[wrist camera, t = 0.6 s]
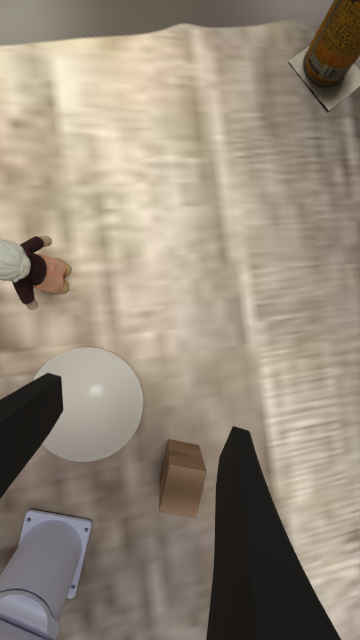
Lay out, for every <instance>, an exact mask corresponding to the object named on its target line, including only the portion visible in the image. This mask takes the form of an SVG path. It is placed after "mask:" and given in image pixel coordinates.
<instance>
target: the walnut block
mask: <svg viewBox="0 0 360 640" xmlns="http://www.w3.org/2000/svg"><path fill="white" fill-rule="evenodd" d="M206 472H207V471H206V468H205V465H204V461H203V458H202V455H201V451H200V448H199V445H195V444H190V443H185V442H180V441H175V440H170V439H168V444H167V448H166V453H165V457H164V461H163V466H162V470H161V474H160V495H159V511H160V512H165V513H171V514H176V515H182V516H187V517H193V518H196V516H197V512H198V508H199V503H200V499H201V494H202V490H203V485H204V481H205V476H206Z"/></svg>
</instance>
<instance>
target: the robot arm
mask: <svg viewBox="0 0 360 640" xmlns="http://www.w3.org/2000/svg"><path fill="white" fill-rule="evenodd" d="M62 412H63V395H62V379H61V376H58V375H55V374H51V373H46V374H44V375H42V376H41V377H39V378H37V379H35V380H34V381H32V382H30V383H29V384H27V385H25V386H23V387H22V388H20V389H18V390H17V391H15V392H13V393H11V394H10V395H8V396H6V397H4V398H3V399H1V400H0V499H1V497H2V496H3V494H4V493H5V492H6V490H7V489H8V487H9V486H10V485H11V483H12V482H13V481H14V480H15V478H16V477H17V476H18V474H19V473H20V472H21V470H22V469H23V468H24V467H25V465H26V464H27V463H28V461H29V460H30V459H31V457H32V456H33V455H34V454H35V452H36V451H37V450H38V448H39V447H40V446H41V444H42V443H43V442H44V440H45V439H46V438H47V436H48V435H49V434H50V432H51V430H52V429H53V427H54V426H55V424H56V422H57V421H58V419H59V417H60V415H61V414H62ZM28 518H31V520H30V519H28ZM91 526H92V521H91V520H88V519H82V518H77V517H71V516H65V515H60V514H54V513H48V512H43V511H37V510H29V511H28V512H27V513H26V516H25V520H24V524H23V528H22V532H21V536H20V541H19V545H18V548H17V550H16V551H15V553H14V554H13V556H12V558H11V559H10V561H9V562H8V564H7V565H6V567H5V568H4V570H3V572H2V573H1V575H0V640H56V638H57V635H58V632H59V630H60V627H61V624H60V623H58V620H59V617H60V615H61V612H62V609H63V606H64V603H65V600H66V598H69V599H72V598H74V597H75V594H76V591H77V586H78V582H79V578H80V574H81V569H82V565H83V561H84V556H85V552H86V548H87V544H88V539H89V535H90V531H91ZM85 528H88V529H85ZM73 585H75V586H73ZM206 640H341V639H340V637H339V635H338V633H337V631H336V630H335V628H334V626H333V624H332V622H331V621H330V619H329V617H328V615H327V613H326V612H325V610H324V608H323V606H322V604H321V603H320V601H319V599H318V597H317V595H316V593H315V591H314V589H313V588H312V586H311V584H310V582H309V580H308V578H307V576H306V574H305V572H304V570H303V568H302V566H301V564H300V562H299V560H298V557H297V555H296V553H295V551H294V549H293V547H292V545H291V543H290V540H289V538H288V536H287V534H286V532H285V529H284V527H283V525H282V522H281V520H280V517H279V515H278V513H277V510H276V508H275V505H274V503H273V500H272V498H271V495H270V492H269V490H268V487H267V484H266V482H265V479H264V476H263V473H262V470H261V467H260V464H259V461H258V458H257V455H256V452H255V449H254V445H253V442H252V438H251V434H250V432H249V431H248V430H244V429H241V428H237V427H234V426H233V427H232V430H231V432H230V434H229V437H228V439H227V441H226V444H225V446H224V448H223V450H222V453H221V455H220V458H219V465H218V473H217V482H216V508H215V553H214V572H213V582H212V592H211V602H210V612H209V621H208V630H207V639H206Z"/></svg>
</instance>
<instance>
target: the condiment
mask: <svg viewBox="0 0 360 640" xmlns="http://www.w3.org/2000/svg"><path fill="white" fill-rule="evenodd" d="M359 56H360V0H334V2H333V4H332V6H331V7H330V9H329V11H328V13H327V15H326V17H325V18H324V20H323V22H322V24H321V26H320V28H319V30H318V31H317V33H316V36H315V37H314V39H313V41H312V43H311V45H309V46H308V47H307V48H306V49H304V50H303V51H302V52H300V53H299V54H297V55H296V56H295V57H294V58H292V59H291V60H290V61H289V62H290V63H291V65H292V66H293V68H294V69H295V70H296V72H297V73H298V74H299V75H300V77H301V78H302V80H303V81H305V83H306V84H307V85H308V86H309V88H310V89H312V90H313V92H314V94H315V95H316V96H317V97H318V99H319V100H320V101H321V102H322V103H323V104H324V105H325V107H326V108H327V109H328V111H329V110H331V109H332V108H333V107H335V106H336V105H337V104H338V103H340V102H341V101H342V100H343V99H345V98H346V97H347V96H348V95H349V94H351V93H352V92H353V91H354V90H355V89H357V88H358V87H359V86H360V70H359V68H358V67H357V66H356V65H355V64H354V63H355V61H356V60H357V59H358V57H359ZM345 75H346V80H345Z"/></svg>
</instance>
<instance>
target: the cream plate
mask: <svg viewBox="0 0 360 640" xmlns="http://www.w3.org/2000/svg"><path fill="white" fill-rule="evenodd" d="M46 373H51V374H55V375H58V376H61V379H62V395H63V412H62V414H61V415H60V417H59V419H58V421H57V422H56V424H55V426H54V427H53V429H52V430H51V432H50V434H49V435H48V436H47V438H46V439H45V440H44V442H43V443H42V445H43V446H44V447H45V448H46V449H48V450H49V451H50V452H52V453H53V454H55V455H57V456H59V457H61V458H64V459H67V460H71V461H77V462H91V461H97V460H100V459H104V458H106V457H108V456H111V455H112V454H114V453H116V452H117V451H119V450H120V449H121V448H123V447H124V446H125V445H126V444H127V443H128V442H129V440H130V439H131V438H132V437H133V435H134V434H135V432H136V430H137V428H138V426H139V424H140V421H141V417H142V413H143V407H144V397H143V390H142V386H141V383H140V381H139V378H138V376H137V374H136V373H135V371H134V370H133V368H132V367H131V366H130V365H129V364H128V363H127V362H126V361H125V360H124V359H123V358H121V357H120V356H118V355H117V354H115V353H113V352H111V351H108V350H105V349H102V348H96V347H80V348H75V349H71V350H68V351H65V352H62V353H60V354H58V355H56V356H55V357H53V358H52V359H50V360H49V361H48V362H47V363H46V364H44V365H43V366H42V368H41V369H40V370H39V371H38V372H37V374H36V376H35V377H34V379H33V381H34V380H35V379H37V378H39V377H41V376H42V375H44V374H46Z"/></svg>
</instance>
